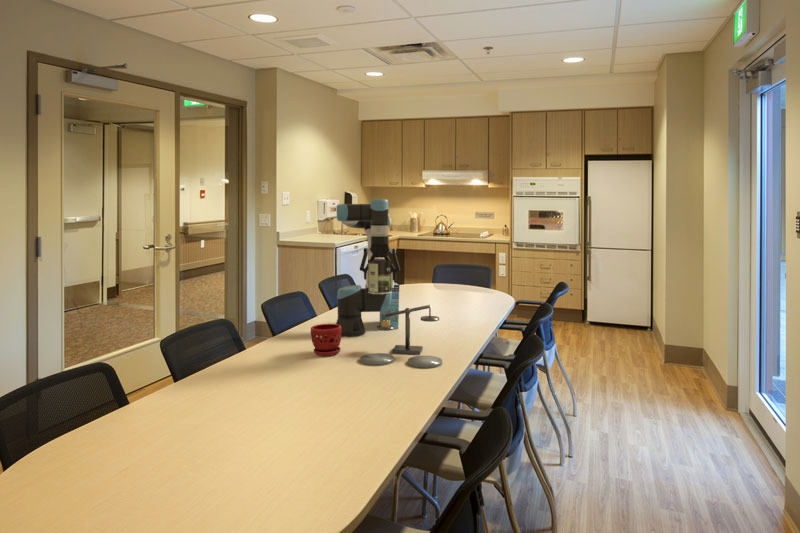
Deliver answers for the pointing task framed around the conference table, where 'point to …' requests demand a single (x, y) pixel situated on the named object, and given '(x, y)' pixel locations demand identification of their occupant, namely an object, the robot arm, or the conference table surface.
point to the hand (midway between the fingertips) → (380, 287)
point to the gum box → (393, 307)
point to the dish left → (377, 359)
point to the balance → (406, 329)
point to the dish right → (425, 361)
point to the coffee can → (379, 276)
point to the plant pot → (326, 339)
